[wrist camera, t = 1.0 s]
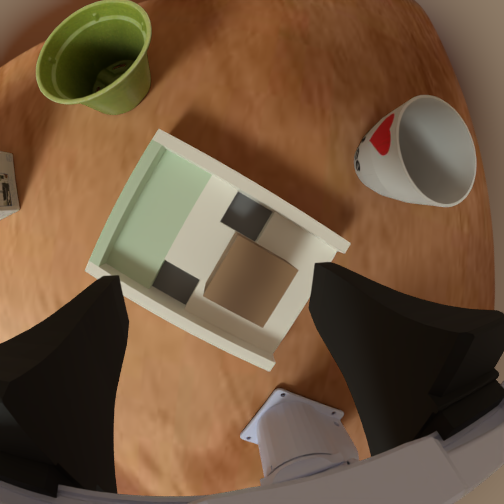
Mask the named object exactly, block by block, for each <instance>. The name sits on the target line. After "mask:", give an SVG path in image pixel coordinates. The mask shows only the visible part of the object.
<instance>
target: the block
mask: <svg viewBox="0 0 504 504" xmlns="http://www.w3.org/2000/svg"><path fill="white" fill-rule="evenodd" d="M298 271H299V270H298V269H297V268H295V267H294V266H293V265H291V264H290V263H289V262H288V261H286V260H284V259H283V258H281V257H279V256H278V255H276V254H274V253H272V252H271V251H269V250H267V249H266V248H264V247H262V246H260V245H259V244H257V243H255V242H254V241H252V240H250V239H248V238H247V237H245V236H243V235H242V234H240V233H238V232H236V231H235V233H234V235H233V237H232V238H231V240H230V242H229V243H228V245H227V247H226V249H225V250H224V252H223V254H222V255H221V257H220V259H219V261H218V262H217V264H216V266H215V268H214V269H213V271H212V273H211V275H210V276H209V278H208V280H207V282H206V284H205V288H204V293H203V297H205V298H207V299H209V300H211V301H212V302H214V303H216V304H218V305H220V306H222V307H224V308H225V309H227V310H229V311H231V312H233V313H235V314H237V315H239V316H241V317H243V318H245V319H246V320H248V321H250V322H252V323H254V324H256V325H258V326H260V327H262V328H263V327H264V325H265V324H266V322H267V321H268V319H269V318H270V316H271V314H272V313H273V311H274V310H275V308H276V306H277V305H278V303H279V302H280V300H281V298H282V297H283V295H284V294H285V292H286V290H287V289H288V287H289V285H290V284H291V282H292V280H293V279H294V277H295V276H296V274H297V272H298Z"/></svg>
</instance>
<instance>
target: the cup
mask: <svg viewBox="0 0 504 504" xmlns="http://www.w3.org/2000/svg"><path fill="white" fill-rule="evenodd" d="M354 167H355V171H356V173H357V176H358V177H359V179H360V180H361V182H362V183H363V184H364V185H366V186H367V187H369V188H370V189H372V190H374V191H375V192H377V193H379V194H381V195H383V196H386V197H390V198H393V199H397V200H400V201H404V202H407V203H415V204H424V205H432V206H440V207H451V206H454V205H457V204H459V203H460V202H461V201H463V200H464V199H465V198H466V196H467V195H468V194H469V192H470V190H471V188H472V186H473V183H474V180H475V175H476V153H475V147H474V143H473V140H472V137H471V134H470V132H469V130H468V128H467V126H466V124H465V122H464V121H463V119H462V118H461V116H460V115H459V114H458V113H457V111H456V110H455V109H454V108H453V107H452V106H450V105H449V104H448V103H447V102H445V101H443V100H442V99H440V98H437V97H435V96H431V95H420V96H416V97H414V98H412V99H410V100H409V101H407V102H406V103H404V104H403V105H401V106H400V107H398V108H397V109H395V110H394V111H392V112H390V113H389V114H387V115H386V116H384V117H383V118H382V119H381V120H380V121H379V122H378V123H377V124H376V125H375V126H374V127H373V128H372V129H371V130H370V131H369V132H368V133H367V134H366V135H365V136H364V137H363V139H362V141H361V143H360V145H359V147H358V148H357V150H356V153H355V156H354Z"/></svg>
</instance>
